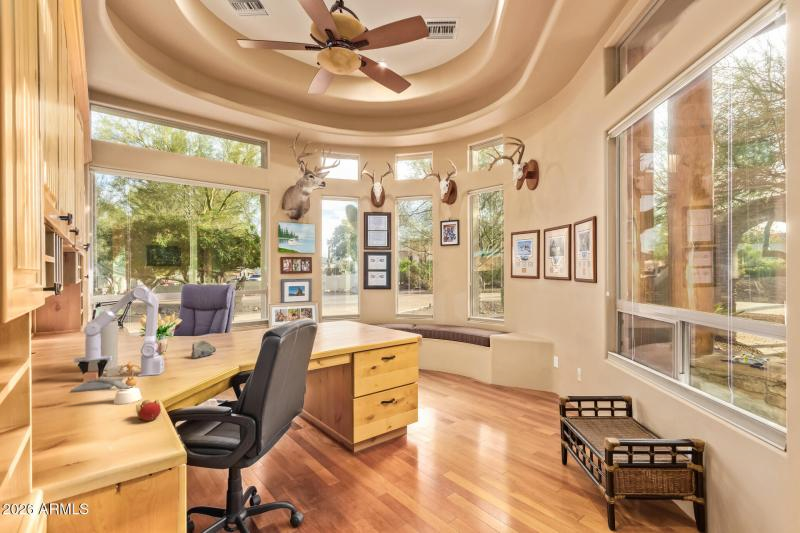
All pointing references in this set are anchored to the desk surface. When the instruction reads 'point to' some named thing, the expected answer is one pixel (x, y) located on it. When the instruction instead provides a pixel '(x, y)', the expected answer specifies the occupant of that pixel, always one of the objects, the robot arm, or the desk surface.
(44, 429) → the desk surface
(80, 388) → the baseplate
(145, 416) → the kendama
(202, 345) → the mineral rock
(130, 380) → the figurine
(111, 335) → the cylinder vase
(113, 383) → the inkwell
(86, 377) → the terracotta brick
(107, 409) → the desk surface
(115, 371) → the cream brick
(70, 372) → the desk surface
